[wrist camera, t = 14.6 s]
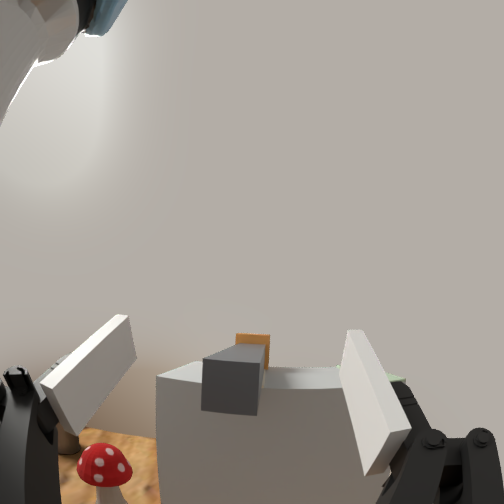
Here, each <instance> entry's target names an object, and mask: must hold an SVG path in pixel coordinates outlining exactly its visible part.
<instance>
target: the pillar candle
mask: <svg viewBox="0 0 504 504" xmlns="http://www.w3.org/2000/svg"><path fill="white" fill-rule="evenodd" d="M56 427H57V429H58V453H59V454H74V453H77V452H78V451H79V450H80V445H79V437H78V436H75V435H73V434H71V433H69V432H67V431H65V430H64V429H63V427H62V425H61V424H60V422H58V424H57V425H56Z"/></svg>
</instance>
